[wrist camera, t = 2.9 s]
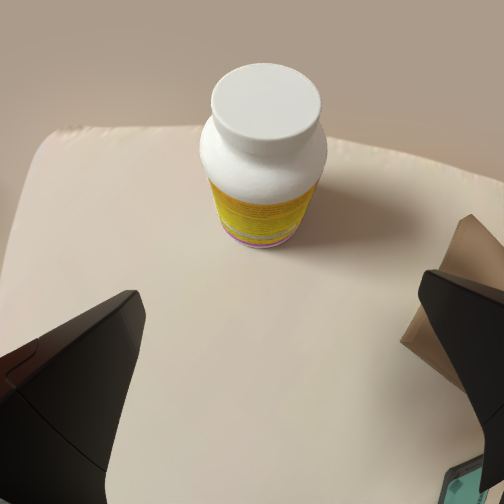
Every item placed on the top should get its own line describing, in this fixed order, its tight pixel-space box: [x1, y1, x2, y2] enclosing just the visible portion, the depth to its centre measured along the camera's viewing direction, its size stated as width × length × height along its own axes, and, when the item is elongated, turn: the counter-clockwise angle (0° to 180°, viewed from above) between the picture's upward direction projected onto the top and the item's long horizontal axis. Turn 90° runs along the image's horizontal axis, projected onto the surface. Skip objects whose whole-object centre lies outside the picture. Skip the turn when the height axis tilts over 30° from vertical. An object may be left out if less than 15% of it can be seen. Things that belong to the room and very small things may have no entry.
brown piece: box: [400, 214, 504, 393], centre depth 19 cm, size 13×12×6 cm
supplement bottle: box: [200, 63, 327, 248], centre depth 18 cm, size 7×7×13 cm
